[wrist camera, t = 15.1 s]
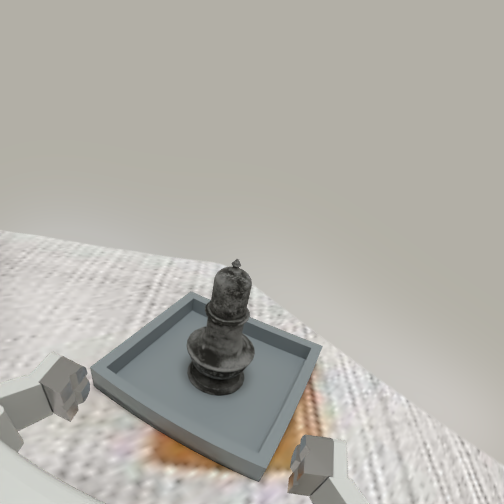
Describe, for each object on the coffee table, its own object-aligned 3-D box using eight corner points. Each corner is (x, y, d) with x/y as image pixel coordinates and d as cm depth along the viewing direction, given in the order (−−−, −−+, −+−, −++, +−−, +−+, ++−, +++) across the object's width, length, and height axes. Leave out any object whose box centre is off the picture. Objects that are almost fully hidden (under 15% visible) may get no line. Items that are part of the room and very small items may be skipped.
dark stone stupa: (241, 353, 32) (267, 245, 27) (252, 398, 26) (287, 283, 21) (183, 351, 30) (195, 238, 25) (185, 397, 25) (198, 277, 20)
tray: (94, 386, 24) (90, 367, 23) (189, 308, 38) (190, 291, 37) (258, 481, 19) (266, 468, 18) (315, 362, 33) (322, 346, 32)
